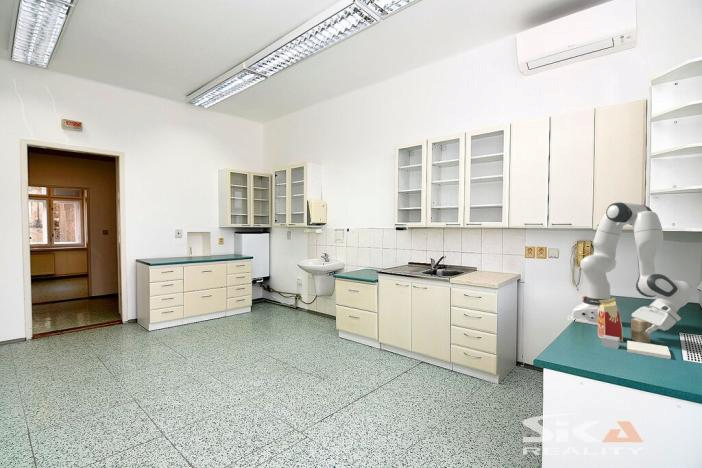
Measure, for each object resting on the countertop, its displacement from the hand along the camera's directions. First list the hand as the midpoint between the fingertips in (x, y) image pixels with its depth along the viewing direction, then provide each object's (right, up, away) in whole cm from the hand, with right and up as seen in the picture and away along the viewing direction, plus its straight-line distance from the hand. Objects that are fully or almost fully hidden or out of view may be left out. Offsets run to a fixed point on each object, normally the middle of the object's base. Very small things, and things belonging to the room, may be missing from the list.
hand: (639, 329), depth 166 cm
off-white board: (-8, -6, -14) cm, 17 cm away
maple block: (+1, -5, 0) cm, 5 cm away
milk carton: (-11, -6, +5) cm, 13 cm away
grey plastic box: (-18, -6, -6) cm, 20 cm away
